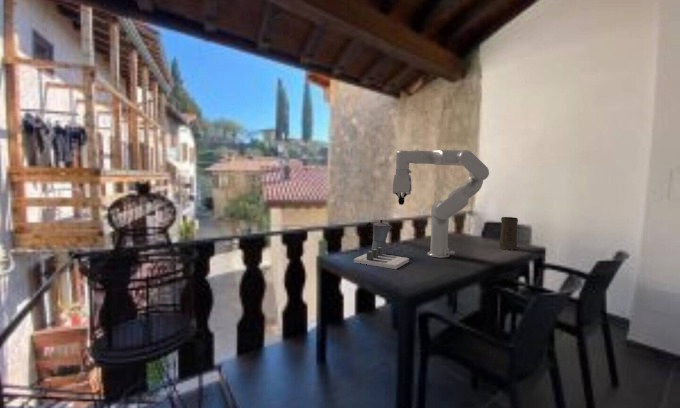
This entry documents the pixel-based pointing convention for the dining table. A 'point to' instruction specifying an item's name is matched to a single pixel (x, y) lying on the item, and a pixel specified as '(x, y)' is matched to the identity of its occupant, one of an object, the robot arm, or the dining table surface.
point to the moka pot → (379, 234)
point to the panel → (383, 261)
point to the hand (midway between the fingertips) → (401, 204)
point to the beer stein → (508, 233)
